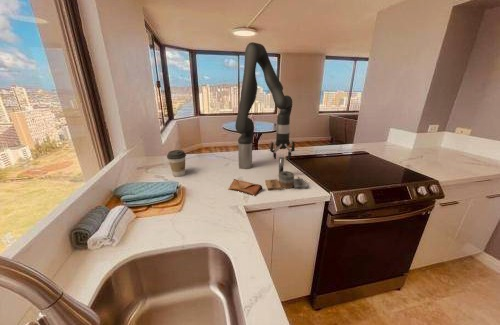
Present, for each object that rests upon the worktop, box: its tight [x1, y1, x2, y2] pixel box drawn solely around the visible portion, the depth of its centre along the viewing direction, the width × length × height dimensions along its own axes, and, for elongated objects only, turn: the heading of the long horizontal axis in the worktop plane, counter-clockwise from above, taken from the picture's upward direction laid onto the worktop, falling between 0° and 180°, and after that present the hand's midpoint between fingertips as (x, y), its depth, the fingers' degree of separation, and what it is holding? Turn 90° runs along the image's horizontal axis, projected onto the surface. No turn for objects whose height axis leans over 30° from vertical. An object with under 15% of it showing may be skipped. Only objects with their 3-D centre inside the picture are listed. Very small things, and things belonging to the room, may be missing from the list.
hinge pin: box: [277, 156, 285, 177], centre depth 130 cm, size 3×3×12 cm
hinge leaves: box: [264, 170, 309, 191], centre depth 119 cm, size 22×10×7 cm, turn 95°
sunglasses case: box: [227, 178, 263, 197], centre depth 115 cm, size 18×7×7 cm, turn 65°
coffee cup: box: [166, 149, 187, 178], centre depth 132 cm, size 11×11×15 cm
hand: (282, 158), depth 128 cm, fingers open, 8 cm apart
